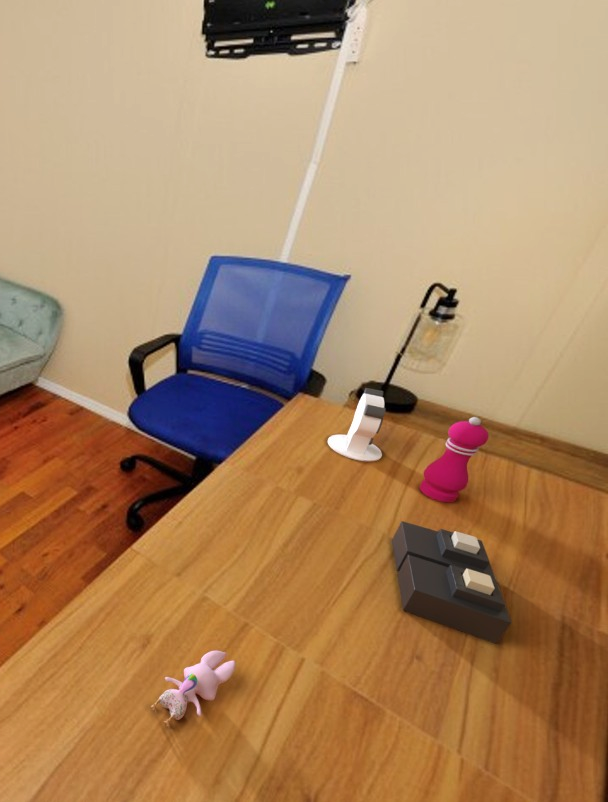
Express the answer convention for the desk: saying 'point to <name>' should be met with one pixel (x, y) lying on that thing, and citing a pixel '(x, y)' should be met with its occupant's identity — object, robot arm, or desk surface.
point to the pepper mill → (454, 461)
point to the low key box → (436, 549)
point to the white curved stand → (362, 429)
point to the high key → (478, 581)
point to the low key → (465, 542)
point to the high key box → (451, 599)
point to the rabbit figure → (196, 684)
